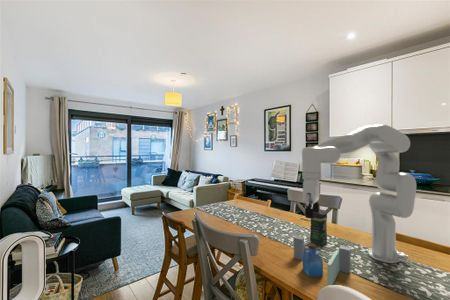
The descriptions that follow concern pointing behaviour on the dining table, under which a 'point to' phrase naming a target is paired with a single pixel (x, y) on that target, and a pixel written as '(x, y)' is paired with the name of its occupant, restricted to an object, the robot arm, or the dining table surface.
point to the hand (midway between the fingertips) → (312, 214)
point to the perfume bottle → (312, 262)
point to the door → (333, 268)
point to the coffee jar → (319, 228)
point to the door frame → (343, 254)
